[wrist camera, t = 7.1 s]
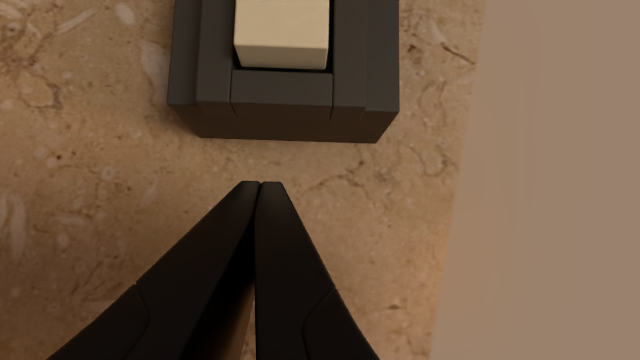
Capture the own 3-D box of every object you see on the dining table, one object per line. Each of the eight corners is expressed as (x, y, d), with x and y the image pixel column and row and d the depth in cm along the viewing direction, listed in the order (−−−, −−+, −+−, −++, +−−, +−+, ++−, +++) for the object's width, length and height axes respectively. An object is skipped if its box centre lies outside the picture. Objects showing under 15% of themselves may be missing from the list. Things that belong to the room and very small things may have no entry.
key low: (325, 70, 15) (328, 48, 13) (241, 67, 15) (232, 44, 13) (327, -7, 15) (330, -39, 14) (245, -11, 15) (237, -43, 14)
